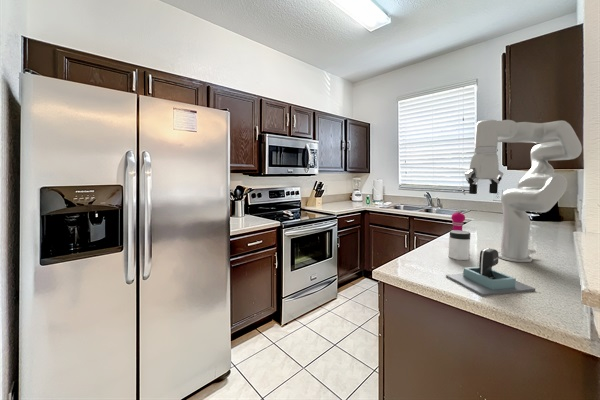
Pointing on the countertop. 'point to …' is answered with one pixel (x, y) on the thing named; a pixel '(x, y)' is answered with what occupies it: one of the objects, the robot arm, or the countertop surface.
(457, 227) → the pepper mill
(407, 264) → the countertop surface
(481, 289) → the charging dock
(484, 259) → the black hard case
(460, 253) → the jar
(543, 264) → the countertop surface
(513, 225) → the robot arm
